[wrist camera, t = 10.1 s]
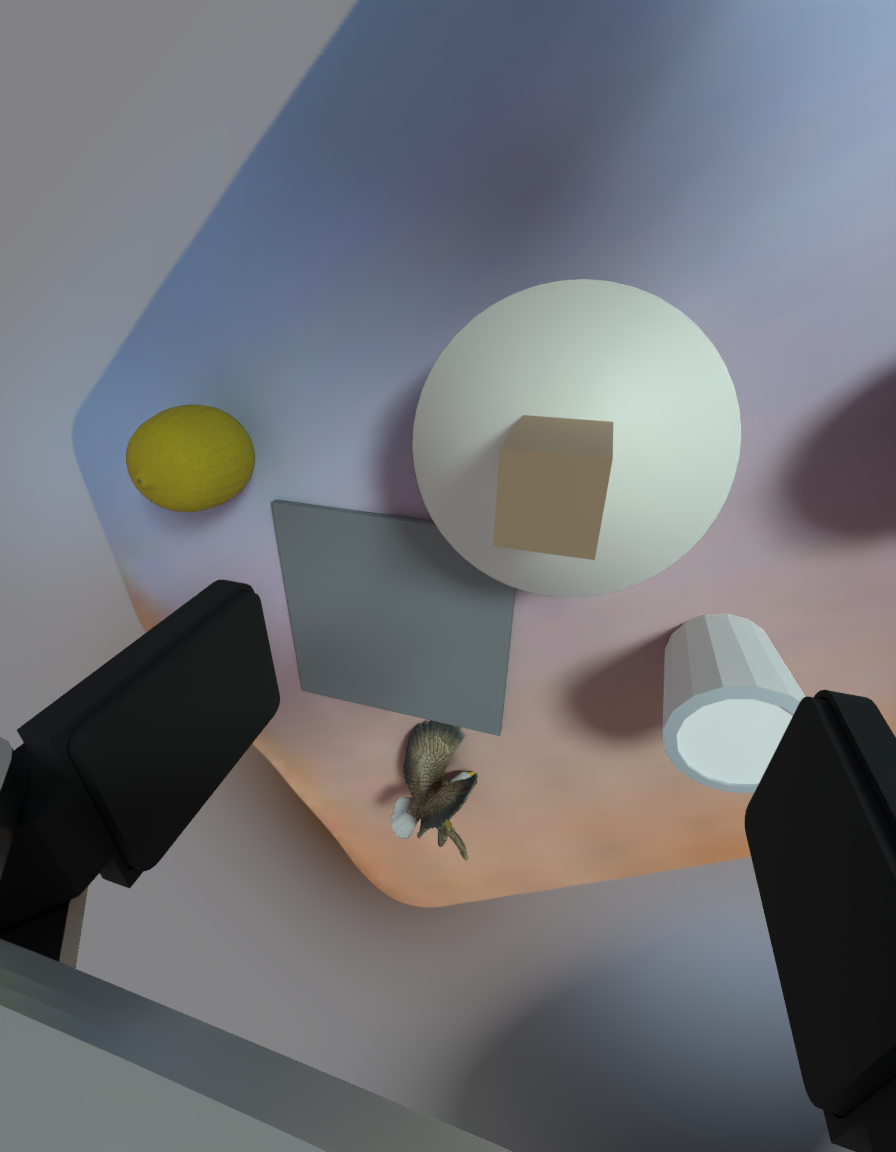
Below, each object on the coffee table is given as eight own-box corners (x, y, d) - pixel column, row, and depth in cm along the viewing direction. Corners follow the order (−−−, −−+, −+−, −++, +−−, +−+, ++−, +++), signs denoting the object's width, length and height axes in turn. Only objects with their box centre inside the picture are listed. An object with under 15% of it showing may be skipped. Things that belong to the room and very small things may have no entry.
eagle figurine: (504, 824, 41) (506, 765, 35) (436, 891, 37) (426, 837, 32) (442, 759, 45) (435, 698, 40) (376, 814, 42) (358, 755, 36)
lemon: (258, 383, 29) (152, 413, 23) (293, 475, 32) (207, 526, 25) (186, 403, 31) (70, 435, 25) (224, 488, 34) (127, 539, 27)
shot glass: (769, 707, 30) (806, 808, 25) (646, 691, 32) (653, 781, 26) (800, 610, 27) (850, 699, 21) (661, 598, 29) (672, 678, 23)
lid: (415, 277, 20) (351, 274, 15) (786, 281, 17) (855, 280, 12) (420, 568, 26) (376, 631, 22) (689, 608, 23) (708, 693, 19)
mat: (275, 499, 33) (271, 502, 33) (521, 533, 29) (519, 536, 29) (305, 686, 41) (302, 690, 41) (501, 731, 37) (499, 736, 37)
